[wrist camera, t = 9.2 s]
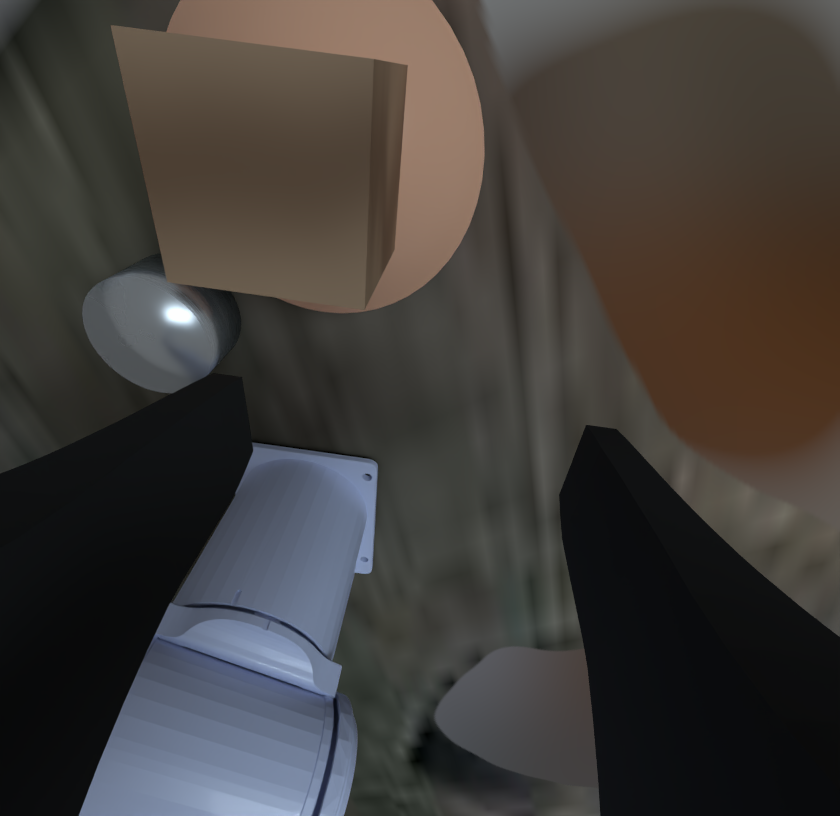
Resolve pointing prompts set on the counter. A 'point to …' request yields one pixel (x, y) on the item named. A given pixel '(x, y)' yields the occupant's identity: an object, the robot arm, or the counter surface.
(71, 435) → the counter surface
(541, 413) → the counter surface
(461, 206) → the tan round disc
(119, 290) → the grey tin
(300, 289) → the walnut cube
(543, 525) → the counter surface
